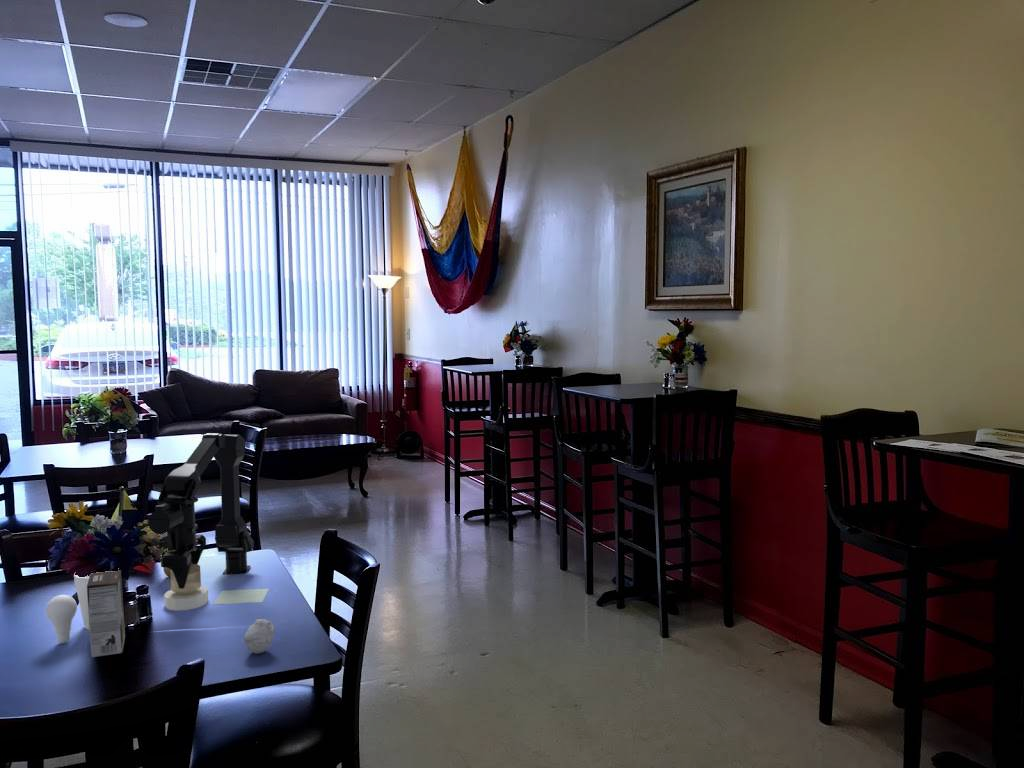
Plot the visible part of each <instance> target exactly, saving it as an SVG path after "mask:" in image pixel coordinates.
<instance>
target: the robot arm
mask: <svg viewBox="0 0 1024 768" xmlns="http://www.w3.org/2000/svg"><path fill="white" fill-rule="evenodd" d="M246 443H247V442H246V440H245V438H243V436H242V435H241V434H222V433H219V432H216V433H215V432H212V433H211V432H208V433H207V432H206V434H205V433H204V434H203V435H202V438H201V441H200V442H199V444H198V445H197V447H196V448H195V449H194V450H193V451H192V453H191V454H190V456H189V457H188V459H186V461H185V462H184V464H183V465H181V466H179V467H176V468H175V469H173V470H172V471H171V472H170V473H169V474H168V475H167V476H165V477H166V478H165V479H164V481H163V484H162V487H161V490H160V493H159V496H158V499H157V501H156V503H157V505H156V506H155V507H154V510H155V511H153V512H151V513H150V515H149V517H148V519H147V523H148V524H147V525H148V527H149V529H150V531H151V532H153V533H154V534H155V535H157V534H164V533H166V532H167V533H166V534H164V535H162V536H161V537H160V538H159V539H158V538H157V537H156V536H155V537H153V538H150V539H151V540H150V541H151V542H152V543H153V545H155V546H156V547H157V545H159V547H157V548H158V549H161V548H162V547H164V549H167V548H168V552H167V553H166V554H165V555H164V556H163V557H162V558H161V559H160V567H161V568H163V567H166V568H169V569H171V570H172V571H173V573H174V576H175V578H176V581H177V584H178V586H179V588H180V589H183V588H184V587H185V584H186V581H187V578H188V574H189V571H190V568H191V565H192V564H198V565H199V562H200V559H201V556H202V554H203V552H204V551H205V550H204V548H205V547H206V546H207V538H206V537H205V536H204V535H203V534H196V533H197V531H196V530H198V528H199V527H198V526H199V525H198V523H196V515H195V513H196V512H195V510H196V508H195V507H196V506H195V503H197V502H198V501H199V498H198V497H197V496H195V495H196V494H197V492H198V490H199V489H200V487H201V485H202V482H201V476H202V474H203V473H204V471H205V470H206V469H207V467H208V466H209V464H210V463H211V461H212V460H215V461H216V463H217V464H218V466H219V467H220V471H219V472H220V493H221V494H220V496H221V497H220V498H221V499H220V500H221V518H220V521H219V522H218V523H217V524H216V525H215V527H214V541H215V544H216V548H217V552H218V553H224V554H225V569H224V571H223V572H222V575H244V574H247V573H248V572H249V570H250V569H251V565H248V560H247V559H248V557H247V553H249V552H252V551H253V549H254V545H255V541H254V539H253V538H252V536H251V535H250V534H249V532H248V527H247V526H248V525H247V523H246V521H245V520H244V519H243V517H242V516H241V497H240V496H241V495H240V494H241V493H240V464H241V462H242V460H243V459H244V457H245V453H246V452H245V451H246V446H247V444H246ZM213 458H214V459H213ZM199 546H200V547H199ZM173 550H175V551H173Z"/></svg>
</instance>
